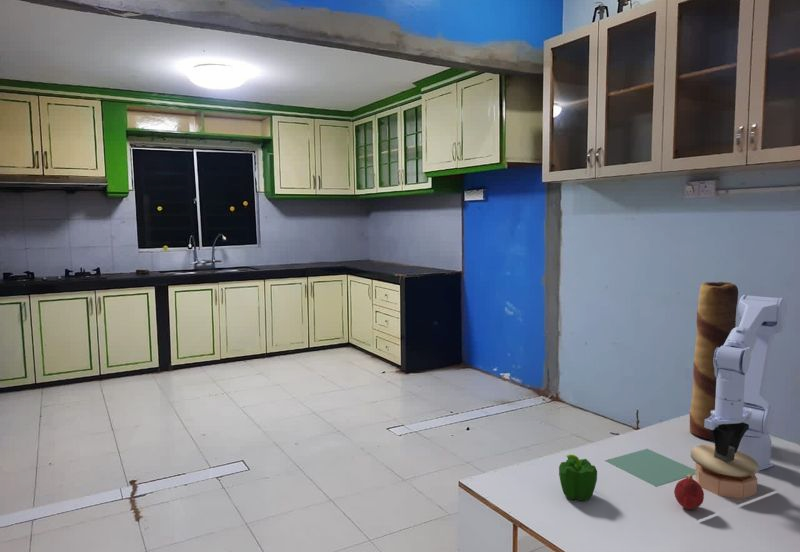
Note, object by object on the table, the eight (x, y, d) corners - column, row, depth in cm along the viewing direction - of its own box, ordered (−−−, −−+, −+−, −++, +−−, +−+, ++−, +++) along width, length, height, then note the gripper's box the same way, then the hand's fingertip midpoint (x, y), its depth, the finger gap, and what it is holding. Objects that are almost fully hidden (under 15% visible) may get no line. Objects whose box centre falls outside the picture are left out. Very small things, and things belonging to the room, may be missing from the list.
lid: (715, 443, 144) (716, 429, 143) (771, 468, 131) (773, 453, 131) (677, 454, 137) (679, 440, 137) (733, 481, 125) (735, 465, 124)
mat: (647, 450, 155) (647, 448, 155) (700, 473, 141) (700, 472, 141) (604, 462, 148) (604, 460, 148) (656, 488, 134) (656, 486, 134)
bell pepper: (596, 490, 134) (597, 449, 132) (596, 507, 126) (597, 464, 125) (559, 485, 136) (560, 445, 135) (557, 501, 129) (558, 459, 127)
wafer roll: (739, 440, 161) (748, 284, 156) (706, 443, 159) (714, 285, 154) (712, 427, 172) (720, 280, 167) (681, 429, 170) (688, 281, 165)
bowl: (717, 471, 142) (717, 456, 142) (765, 492, 132) (766, 475, 131) (685, 481, 137) (685, 466, 137) (733, 504, 126) (734, 487, 126)
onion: (706, 518, 121) (708, 482, 120) (677, 515, 122) (679, 480, 121) (698, 504, 126) (700, 470, 126) (670, 502, 128) (672, 468, 127)
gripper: (732, 388, 139) (729, 441, 140) (693, 397, 132) (690, 452, 134) (761, 396, 132) (758, 451, 134) (722, 406, 126) (719, 464, 128)
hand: (726, 453), depth 133 cm, fingers closed on lid, 3 cm apart
